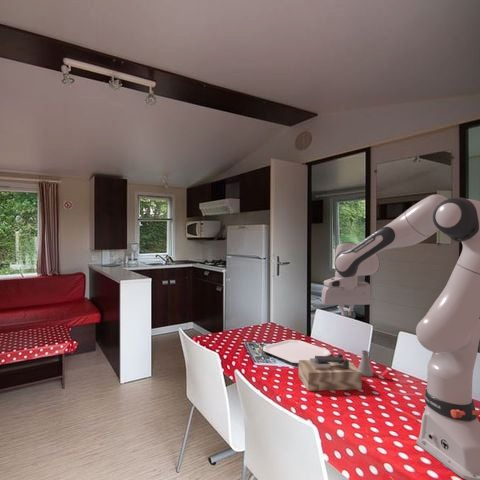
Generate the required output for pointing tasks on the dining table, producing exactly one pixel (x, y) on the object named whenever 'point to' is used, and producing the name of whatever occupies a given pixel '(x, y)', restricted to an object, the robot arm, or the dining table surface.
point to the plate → (295, 351)
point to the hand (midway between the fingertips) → (346, 315)
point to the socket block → (330, 376)
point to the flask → (365, 364)
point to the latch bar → (329, 359)
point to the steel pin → (319, 364)
